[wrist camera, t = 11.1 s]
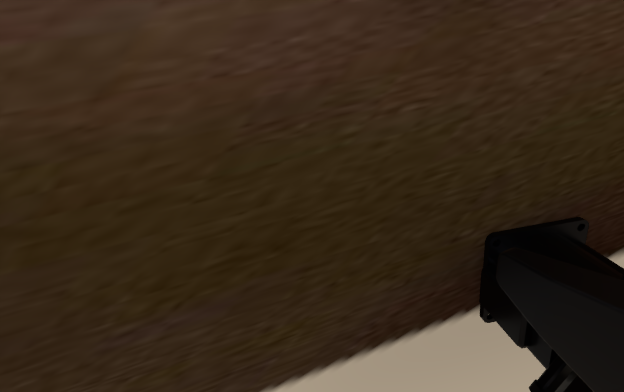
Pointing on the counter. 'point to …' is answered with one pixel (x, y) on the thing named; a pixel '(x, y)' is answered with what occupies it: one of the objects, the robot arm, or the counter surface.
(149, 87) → the counter surface
